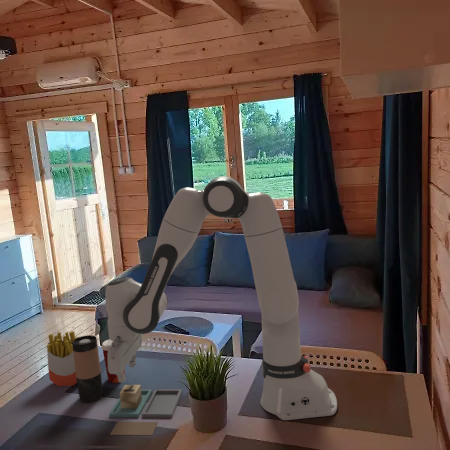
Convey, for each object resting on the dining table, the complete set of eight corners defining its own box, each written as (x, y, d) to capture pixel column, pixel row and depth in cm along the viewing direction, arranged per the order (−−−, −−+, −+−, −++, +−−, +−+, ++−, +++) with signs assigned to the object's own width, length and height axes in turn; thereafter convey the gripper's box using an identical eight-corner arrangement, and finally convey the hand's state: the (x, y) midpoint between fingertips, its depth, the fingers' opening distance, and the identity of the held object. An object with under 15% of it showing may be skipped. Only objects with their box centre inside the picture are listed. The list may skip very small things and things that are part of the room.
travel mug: (108, 396, 144) (101, 338, 141) (88, 407, 138) (80, 346, 135) (94, 389, 149) (87, 333, 146) (74, 400, 143) (66, 341, 140)
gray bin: (182, 393, 142) (182, 389, 142) (172, 419, 129) (171, 414, 129) (155, 393, 144) (155, 389, 143) (142, 418, 130) (141, 414, 130)
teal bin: (152, 393, 144) (152, 389, 144) (138, 418, 130) (138, 414, 130) (125, 393, 145) (125, 389, 145) (109, 418, 131) (109, 413, 131)
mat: (158, 424, 127) (157, 422, 127) (152, 437, 121) (151, 435, 121) (117, 423, 128) (117, 421, 128) (110, 436, 123) (109, 434, 122)
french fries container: (81, 385, 152) (74, 335, 150) (50, 387, 153) (43, 337, 150) (85, 379, 157) (79, 330, 154) (55, 380, 157) (49, 332, 155)
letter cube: (142, 399, 140) (140, 384, 139) (137, 408, 135) (135, 392, 134) (126, 399, 140) (125, 384, 140) (121, 408, 135) (119, 392, 135)
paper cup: (122, 386, 150) (117, 347, 148) (101, 385, 152) (96, 346, 150) (131, 374, 158) (127, 337, 156) (111, 374, 159) (107, 337, 157)
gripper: (121, 345, 123) (125, 391, 125) (143, 318, 143) (147, 358, 145) (99, 345, 124) (104, 391, 126) (124, 318, 144) (128, 358, 146)
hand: (127, 373), depth 136 cm, fingers open, 8 cm apart
